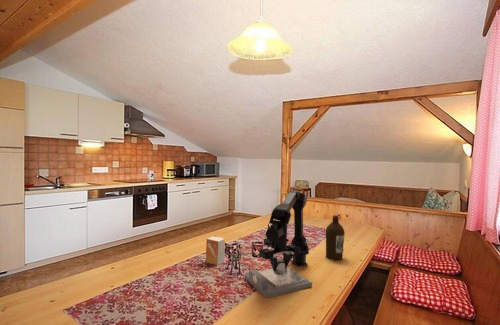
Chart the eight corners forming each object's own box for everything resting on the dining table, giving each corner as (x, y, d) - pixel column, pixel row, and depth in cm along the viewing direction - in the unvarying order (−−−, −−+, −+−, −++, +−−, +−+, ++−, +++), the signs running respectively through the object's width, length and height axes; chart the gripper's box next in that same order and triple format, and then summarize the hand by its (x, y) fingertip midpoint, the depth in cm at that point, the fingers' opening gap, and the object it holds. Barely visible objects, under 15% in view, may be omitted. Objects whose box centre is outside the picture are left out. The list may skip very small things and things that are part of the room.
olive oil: (321, 256, 162) (322, 214, 161) (332, 253, 167) (334, 213, 167) (335, 262, 153) (337, 218, 152) (347, 258, 158) (349, 216, 158)
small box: (205, 262, 146) (206, 238, 146) (212, 258, 152) (213, 235, 152) (217, 265, 142) (218, 241, 142) (224, 262, 148) (225, 238, 148)
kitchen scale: (285, 269, 140) (286, 259, 140) (311, 286, 122) (312, 274, 122) (244, 278, 128) (244, 266, 128) (265, 298, 111) (266, 285, 111)
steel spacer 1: (280, 269, 124) (281, 258, 124) (287, 273, 120) (287, 262, 120) (271, 271, 122) (271, 260, 122) (277, 275, 118) (278, 264, 117)
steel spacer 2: (283, 266, 136) (283, 257, 136) (289, 270, 132) (289, 260, 132) (275, 268, 134) (275, 258, 134) (280, 272, 129) (281, 262, 129)
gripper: (286, 229, 132) (285, 260, 132) (253, 233, 123) (252, 267, 124) (301, 235, 122) (300, 269, 123) (266, 240, 113) (265, 276, 114)
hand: (279, 270), depth 121 cm, fingers closed on steel spacer 1, 5 cm apart
